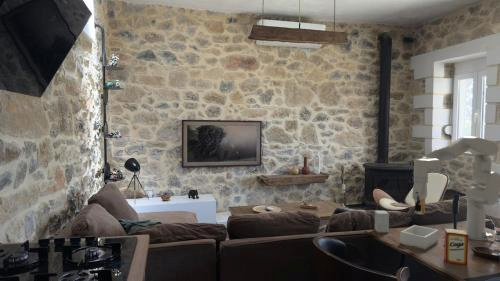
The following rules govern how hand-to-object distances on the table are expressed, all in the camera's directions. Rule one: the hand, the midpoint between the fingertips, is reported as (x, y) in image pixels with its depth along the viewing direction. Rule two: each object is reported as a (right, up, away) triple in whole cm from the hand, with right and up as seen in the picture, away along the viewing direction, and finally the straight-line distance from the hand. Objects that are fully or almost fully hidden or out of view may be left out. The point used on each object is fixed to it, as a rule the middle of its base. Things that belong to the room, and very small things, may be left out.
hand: (419, 209), depth 203 cm
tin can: (0, -2, 0) cm, 2 cm away
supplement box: (-14, -19, +23) cm, 33 cm away
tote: (0, -20, +1) cm, 20 cm away
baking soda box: (+5, -21, -28) cm, 35 cm away
